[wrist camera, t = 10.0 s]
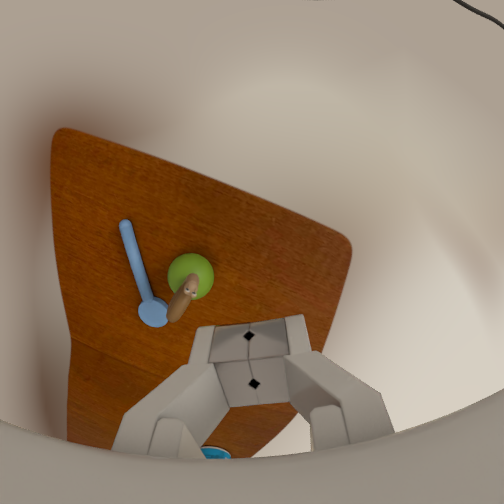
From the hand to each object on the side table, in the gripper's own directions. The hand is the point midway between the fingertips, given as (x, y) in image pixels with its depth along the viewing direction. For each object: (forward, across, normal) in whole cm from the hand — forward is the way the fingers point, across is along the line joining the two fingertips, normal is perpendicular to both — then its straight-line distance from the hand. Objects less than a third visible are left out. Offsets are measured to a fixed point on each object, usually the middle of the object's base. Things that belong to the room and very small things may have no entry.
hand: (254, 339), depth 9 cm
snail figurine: (+27, +9, +9) cm, 29 cm away
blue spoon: (+26, +16, +9) cm, 32 cm away
